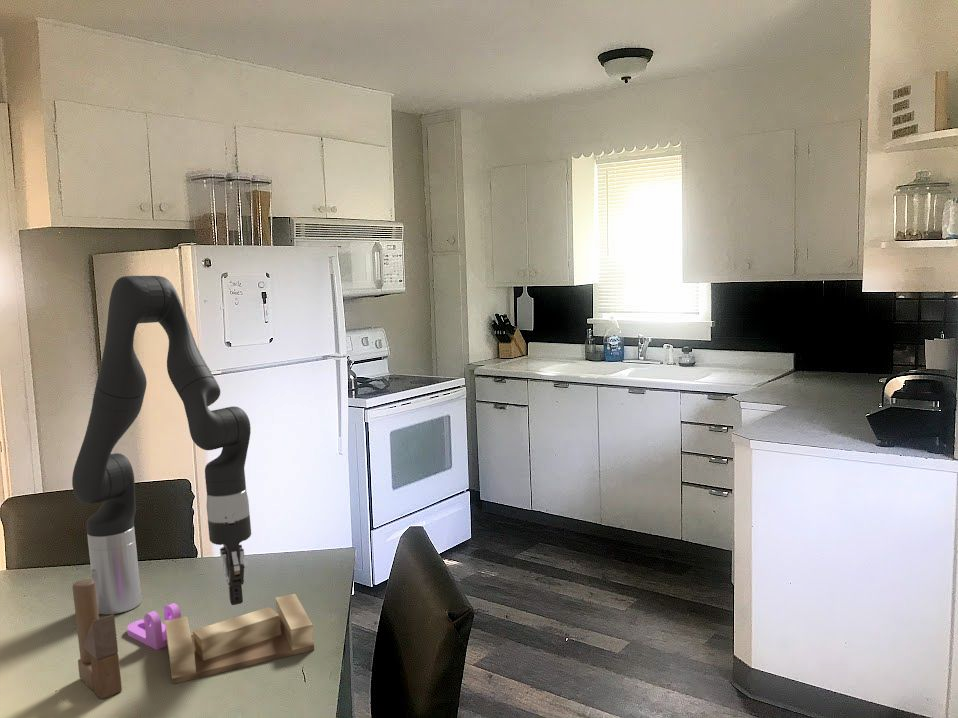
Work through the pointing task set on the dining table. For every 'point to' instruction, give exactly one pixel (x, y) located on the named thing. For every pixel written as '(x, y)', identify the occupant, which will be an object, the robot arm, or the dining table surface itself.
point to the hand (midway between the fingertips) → (236, 602)
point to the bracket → (153, 627)
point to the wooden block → (96, 642)
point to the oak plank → (236, 633)
